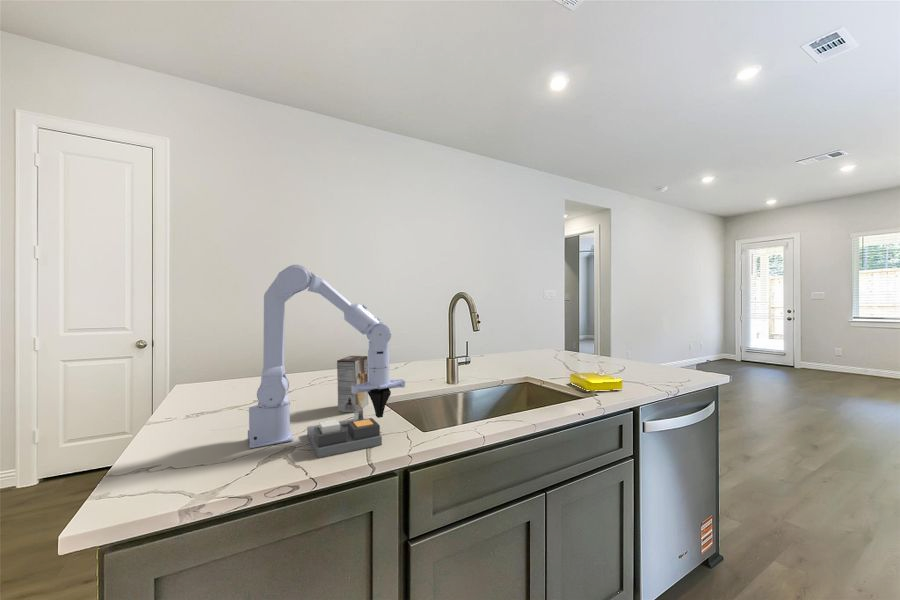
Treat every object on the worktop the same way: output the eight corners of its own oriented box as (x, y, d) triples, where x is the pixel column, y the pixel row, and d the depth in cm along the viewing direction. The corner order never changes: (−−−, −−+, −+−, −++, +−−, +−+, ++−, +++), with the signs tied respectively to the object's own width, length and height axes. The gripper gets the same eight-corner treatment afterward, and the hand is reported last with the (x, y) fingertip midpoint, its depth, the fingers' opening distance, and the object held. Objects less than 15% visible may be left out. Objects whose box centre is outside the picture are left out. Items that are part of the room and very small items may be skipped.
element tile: (568, 384, 151) (568, 372, 151) (601, 382, 153) (601, 370, 153) (588, 393, 136) (588, 380, 136) (625, 391, 139) (625, 378, 139)
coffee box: (350, 403, 124) (350, 355, 124) (368, 404, 123) (368, 355, 123) (337, 411, 115) (336, 360, 115) (356, 412, 114) (355, 360, 114)
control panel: (318, 458, 82) (318, 437, 82) (307, 434, 96) (307, 417, 96) (381, 444, 89) (381, 426, 89) (363, 424, 103) (362, 408, 103)
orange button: (357, 435, 88) (357, 426, 88) (353, 429, 92) (353, 421, 92) (373, 432, 90) (373, 423, 90) (369, 427, 94) (368, 419, 94)
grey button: (322, 435, 85) (322, 427, 85) (319, 430, 88) (319, 422, 88) (340, 432, 86) (340, 424, 86) (336, 427, 90) (336, 419, 90)
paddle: (358, 424, 97) (358, 409, 97) (354, 419, 100) (354, 405, 100) (363, 423, 97) (362, 408, 97) (358, 419, 101) (358, 404, 101)
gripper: (356, 372, 94) (356, 425, 94) (409, 366, 101) (409, 416, 101) (349, 367, 100) (349, 417, 101) (399, 362, 107) (400, 409, 108)
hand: (379, 416), depth 101 cm, fingers closed
